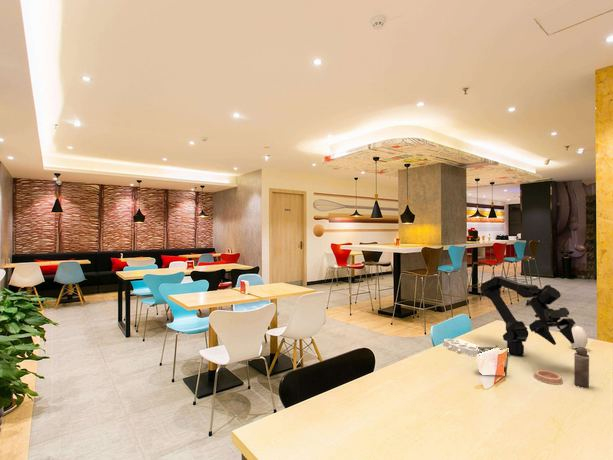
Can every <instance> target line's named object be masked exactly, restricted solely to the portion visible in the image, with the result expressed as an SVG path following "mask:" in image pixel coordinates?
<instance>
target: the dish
mask: <svg viewBox="0 0 613 460" xmlns="http://www.w3.org/2000/svg"><path fill="white" fill-rule="evenodd" d="M533 378H534V379H536V380H537V381H539V382H541V383H545V384H549V385H554V386H555V385H558V386H559V384H560V385H563V384H564V380H563V377H562V376H561V375H560V374H559V373H556V372H553V371H548V370H545V369H544V370H542V369H540V370H539V369H537V370H535V371H534V374H533Z"/></svg>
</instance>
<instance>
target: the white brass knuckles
mask: <svg viewBox="0 0 613 460" xmlns="http://www.w3.org/2000/svg"><path fill="white" fill-rule="evenodd" d="M444 346H446V347H445V348H447V347H448V349H449V350H450V349H451V350H450V351H452V350H454V351H453V352H455V351H457V352H459V353H458V354H461V353H465V354H464V355H466V354H468V355H467V356H469V355H473V356H472V357H477V356H476V355H477V354H478V349H480V348H481V347H482V345H479V344H475V343H472V342H471V341H467V340H463V339H461V338H460V339H459V338H458V339H453V338H444V339H443V347H444ZM457 352H456V353H457Z"/></svg>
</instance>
